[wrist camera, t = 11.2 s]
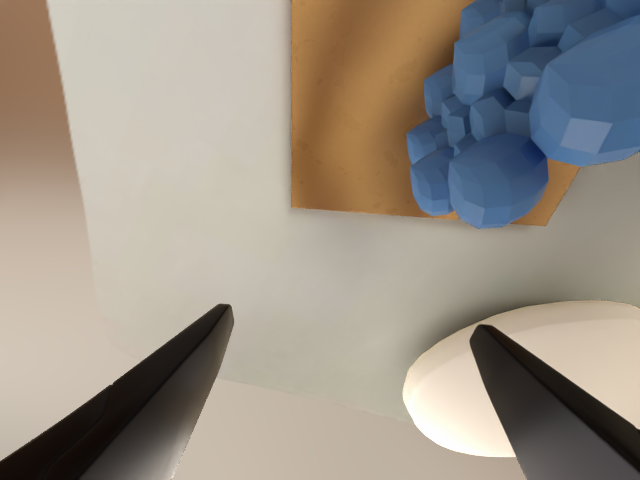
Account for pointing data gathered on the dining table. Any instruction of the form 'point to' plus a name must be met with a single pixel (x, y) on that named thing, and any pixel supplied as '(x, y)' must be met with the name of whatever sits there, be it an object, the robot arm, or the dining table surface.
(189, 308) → the dining table surface
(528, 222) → the bamboo board
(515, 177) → the grapes
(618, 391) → the plate
